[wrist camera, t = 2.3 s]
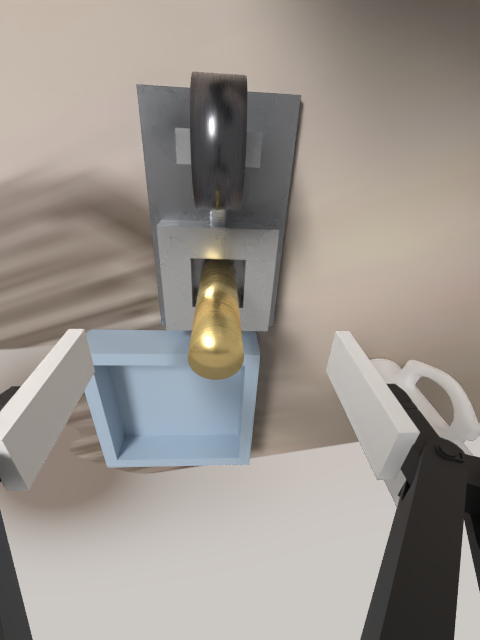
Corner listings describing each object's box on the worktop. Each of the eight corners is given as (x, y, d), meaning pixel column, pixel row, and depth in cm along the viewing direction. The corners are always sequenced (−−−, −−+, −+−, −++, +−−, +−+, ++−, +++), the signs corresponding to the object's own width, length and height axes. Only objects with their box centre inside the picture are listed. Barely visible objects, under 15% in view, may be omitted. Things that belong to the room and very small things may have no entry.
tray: (89, 329, 27) (73, 353, 24) (256, 331, 28) (260, 354, 25) (117, 438, 35) (107, 467, 32) (246, 436, 36) (249, 464, 33)
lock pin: (200, 257, 23) (186, 335, 14) (236, 258, 24) (245, 335, 14) (201, 289, 25) (188, 379, 15) (235, 290, 25) (242, 379, 16)
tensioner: (138, 85, 18) (83, 49, 11) (298, 96, 19) (346, 68, 12) (162, 321, 27) (140, 388, 20) (271, 323, 28) (289, 388, 20)
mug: (381, 407, 34) (449, 520, 24) (329, 396, 33) (377, 511, 23) (434, 337, 30) (547, 442, 19) (376, 322, 28) (464, 426, 18)
